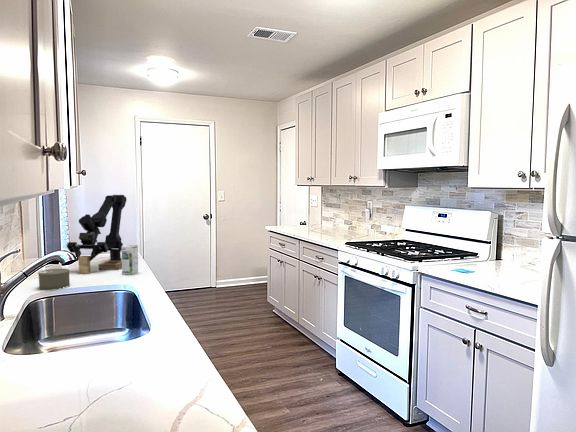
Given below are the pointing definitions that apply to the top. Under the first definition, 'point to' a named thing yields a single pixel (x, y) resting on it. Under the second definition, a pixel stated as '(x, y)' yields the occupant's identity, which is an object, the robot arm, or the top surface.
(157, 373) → the top surface
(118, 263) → the walnut collar stand
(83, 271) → the tan wooden block
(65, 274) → the can
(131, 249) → the syrup box
